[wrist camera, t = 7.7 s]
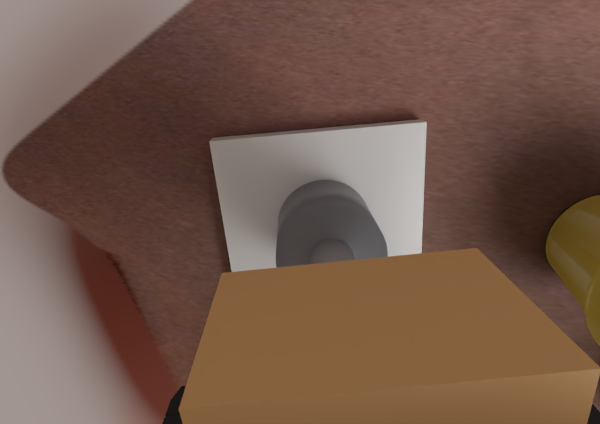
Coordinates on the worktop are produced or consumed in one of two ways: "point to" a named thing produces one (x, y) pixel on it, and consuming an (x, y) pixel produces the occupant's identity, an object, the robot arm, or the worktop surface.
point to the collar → (384, 348)
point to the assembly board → (316, 158)
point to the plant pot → (579, 257)
